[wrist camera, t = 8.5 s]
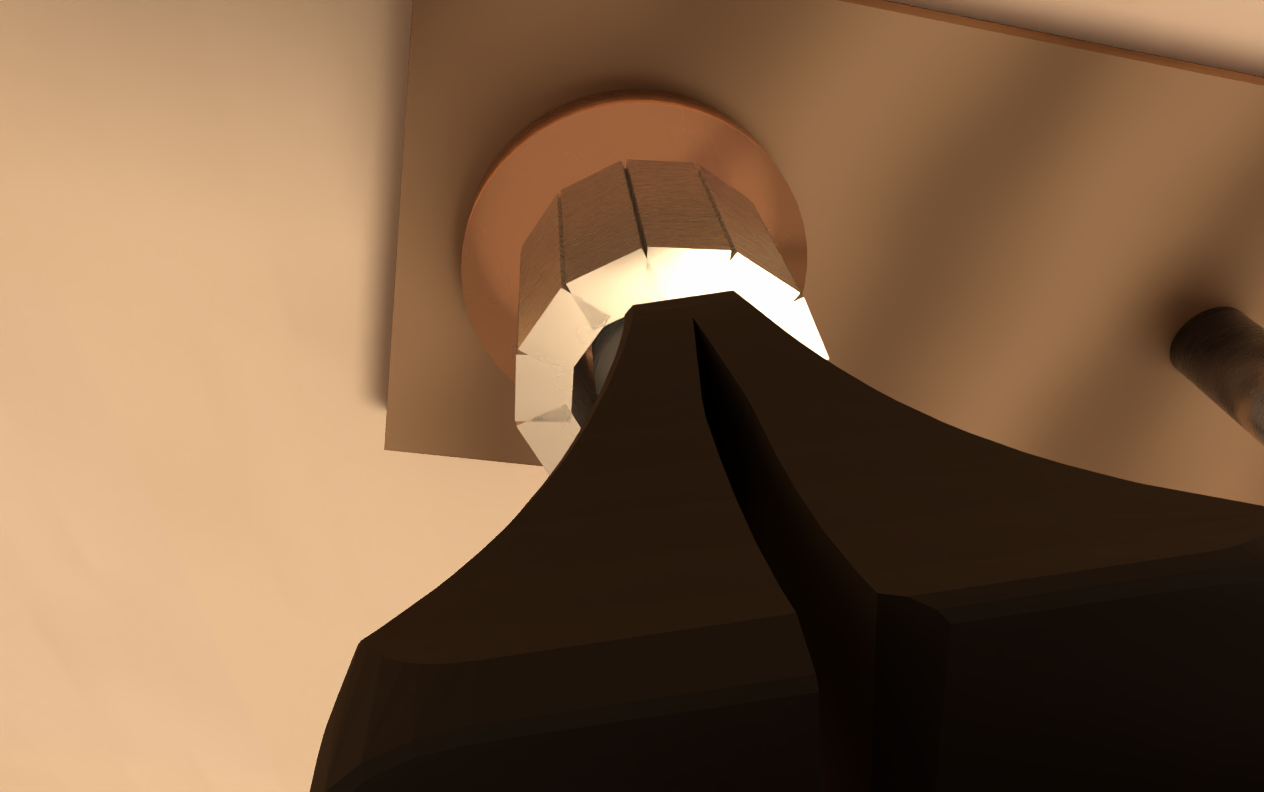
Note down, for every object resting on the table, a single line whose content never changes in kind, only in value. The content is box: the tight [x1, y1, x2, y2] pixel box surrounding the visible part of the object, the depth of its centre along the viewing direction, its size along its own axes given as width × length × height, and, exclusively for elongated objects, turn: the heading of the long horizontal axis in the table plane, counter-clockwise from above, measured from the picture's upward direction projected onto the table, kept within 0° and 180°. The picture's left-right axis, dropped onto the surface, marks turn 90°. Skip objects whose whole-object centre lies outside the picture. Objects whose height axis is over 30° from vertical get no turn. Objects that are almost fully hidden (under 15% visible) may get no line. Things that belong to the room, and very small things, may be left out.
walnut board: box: [384, 0, 1264, 506], centre depth 21 cm, size 23×11×2 cm, turn 79°
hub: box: [461, 89, 807, 396], centre depth 17 cm, size 7×7×5 cm
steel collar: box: [515, 159, 829, 475], centre depth 17 cm, size 5×5×4 cm
